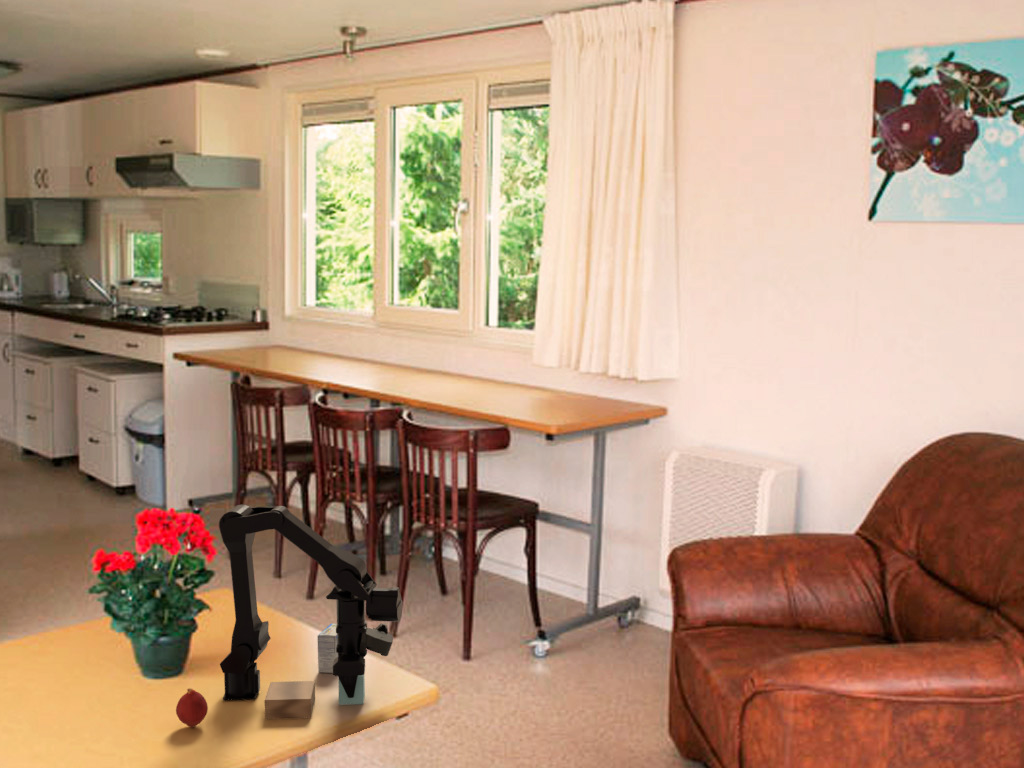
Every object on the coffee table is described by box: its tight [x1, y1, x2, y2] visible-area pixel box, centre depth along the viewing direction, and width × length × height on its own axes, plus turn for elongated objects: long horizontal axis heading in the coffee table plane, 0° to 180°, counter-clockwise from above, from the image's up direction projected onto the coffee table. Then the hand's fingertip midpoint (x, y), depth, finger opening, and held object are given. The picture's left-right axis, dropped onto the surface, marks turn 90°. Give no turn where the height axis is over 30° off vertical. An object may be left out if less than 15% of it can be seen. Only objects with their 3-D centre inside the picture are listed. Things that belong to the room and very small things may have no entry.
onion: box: [175, 687, 209, 728], centre depth 217 cm, size 6×6×8 cm
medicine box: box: [317, 623, 338, 674], centre depth 247 cm, size 8×4×9 cm, turn 168°
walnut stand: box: [264, 680, 316, 720], centre depth 225 cm, size 9×9×4 cm
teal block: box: [337, 674, 366, 706], centre depth 230 cm, size 5×5×6 cm
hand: (351, 692), depth 230 cm, fingers closed on teal block, 5 cm apart
